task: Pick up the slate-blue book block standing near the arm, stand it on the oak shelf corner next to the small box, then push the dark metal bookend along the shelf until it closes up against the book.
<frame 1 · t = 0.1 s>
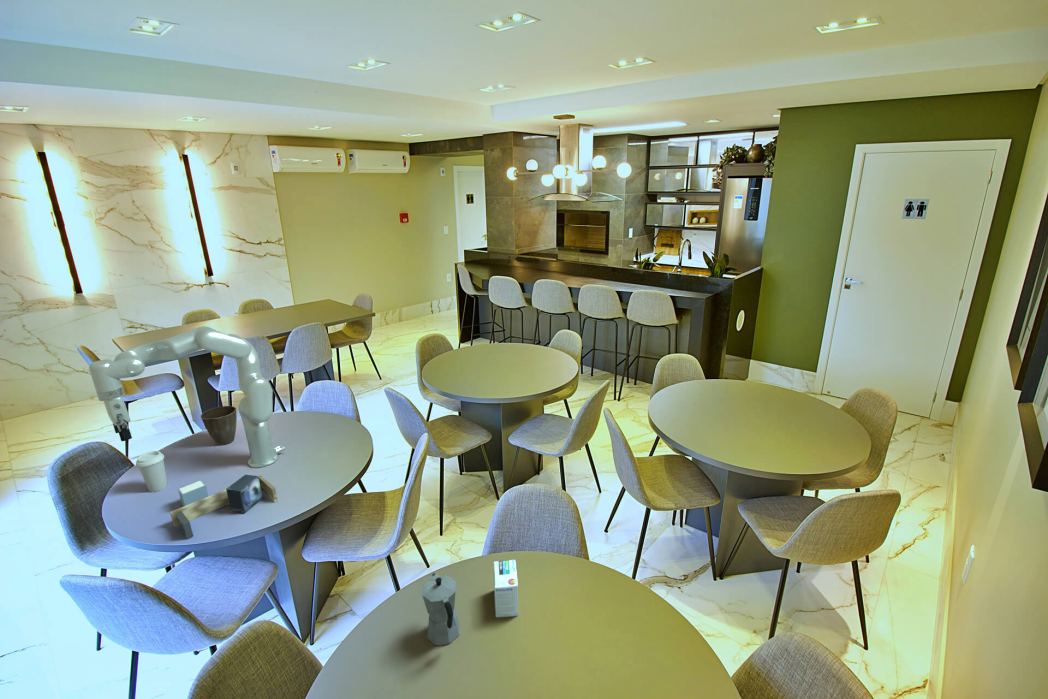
hand: (123, 435, 187), 31 cm above the table, fingers open, 9 cm apart
small box: (247, 505, 196), on the table
plant pot: (225, 442, 247), on the table
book: (196, 503, 198), on the table
coffee cup: (158, 487, 209), on the table
light bulb box: (506, 603, 147), on the table
coffeepot: (445, 635, 137), on the table
bookend: (184, 524, 180), point 3 cm above the table, slide at 0.0 cm
shelf: (224, 514, 191), on the table
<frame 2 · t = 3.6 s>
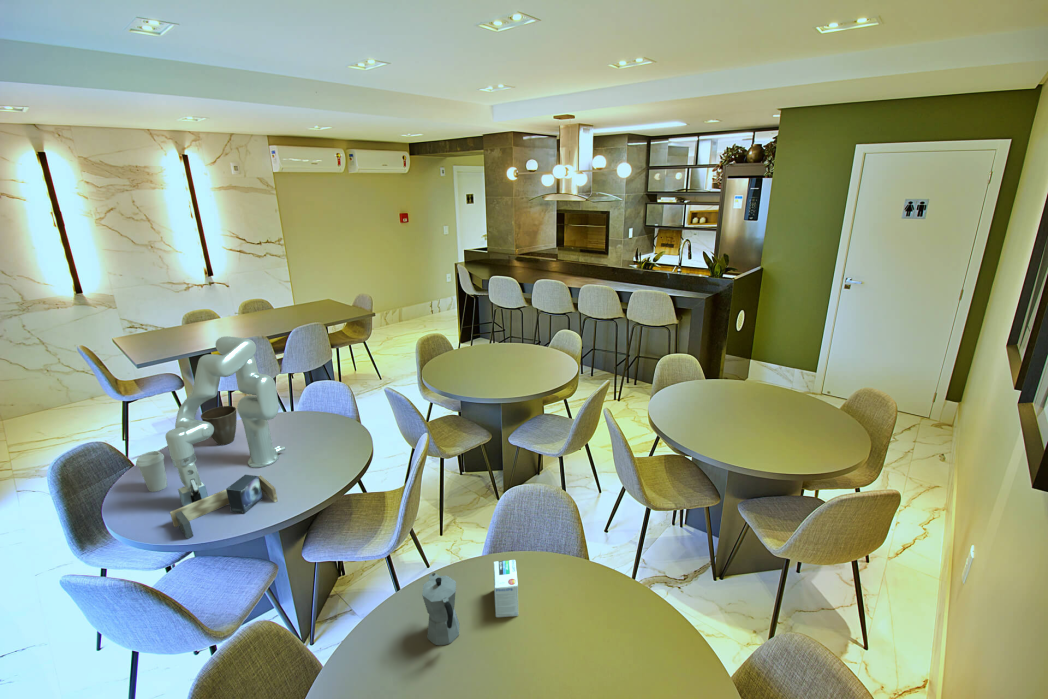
hand: (194, 499, 197), 2 cm above the table, fingers closed on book, 5 cm apart
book: (195, 503, 198), on the table, touching gripper
everything else where it was.
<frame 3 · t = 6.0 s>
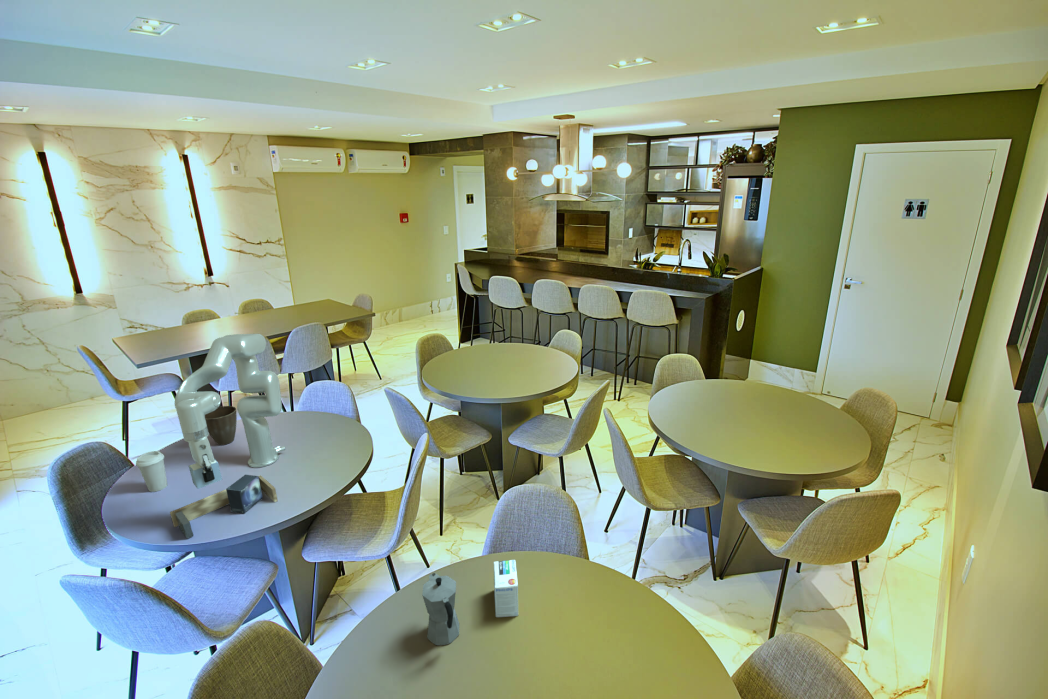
hand: (206, 477, 183), 18 cm above the table, fingers closed on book, 5 cm apart
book: (207, 481, 184), point 16 cm above the table, touching gripper
everything else where it was.
when the fingers open (3 cm above the table, at t = 8.3 s): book drops 1 cm, on the table.
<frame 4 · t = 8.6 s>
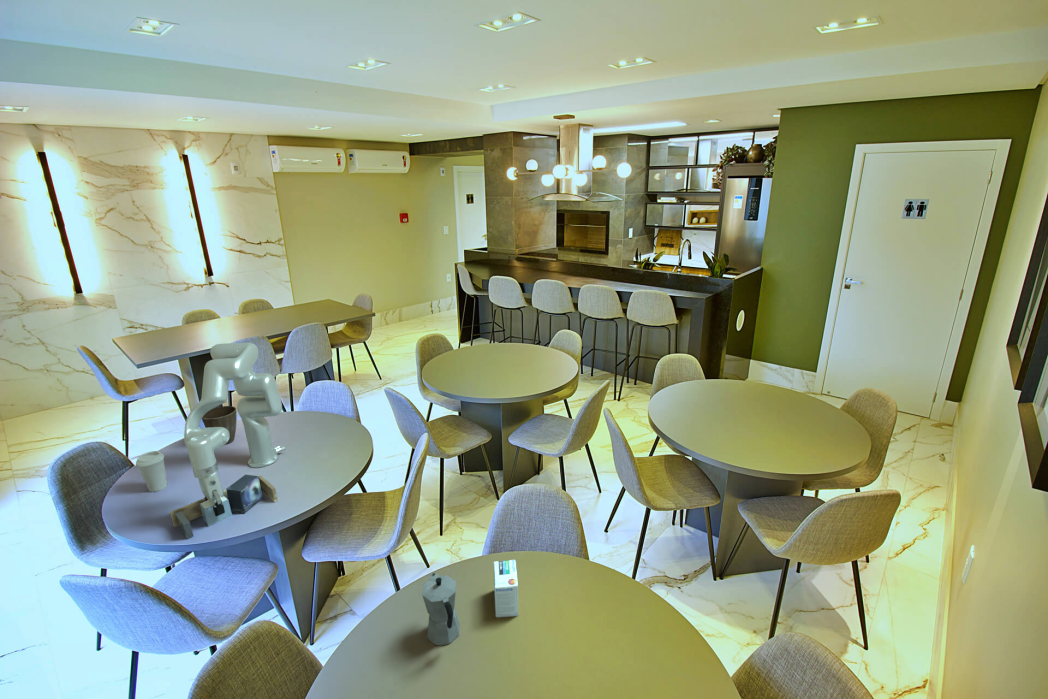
hand: (215, 509, 187), 4 cm above the table, fingers open, 9 cm apart
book: (218, 518, 189), on the table
everything else where it was.
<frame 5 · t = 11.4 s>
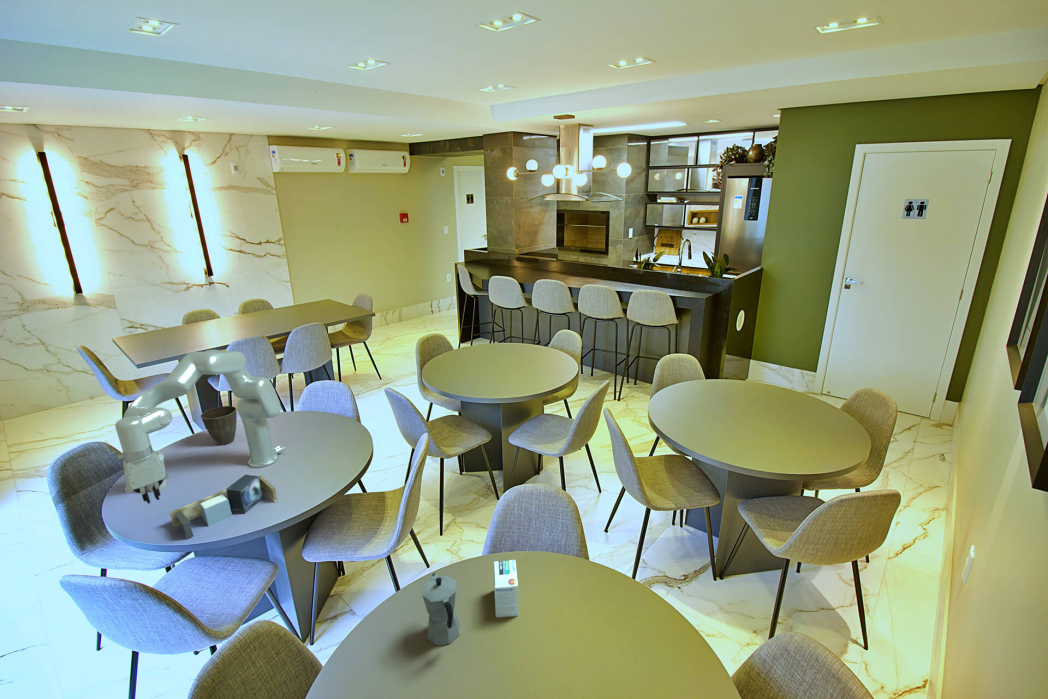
hand: (152, 499, 171), 17 cm above the table, fingers closed
nothing on the table moved.
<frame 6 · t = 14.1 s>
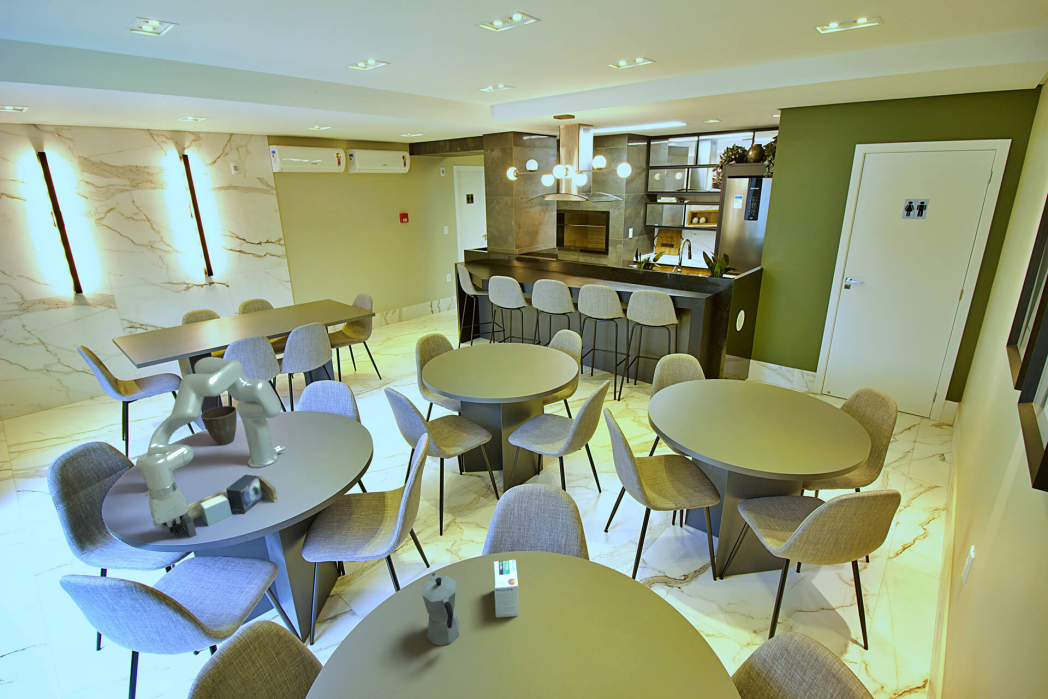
hand: (176, 533, 179), 1 cm above the table, fingers closed
bookend: (187, 523, 181), point 3 cm above the table, slide at 1.0 cm, touching gripper
everything else where it was.
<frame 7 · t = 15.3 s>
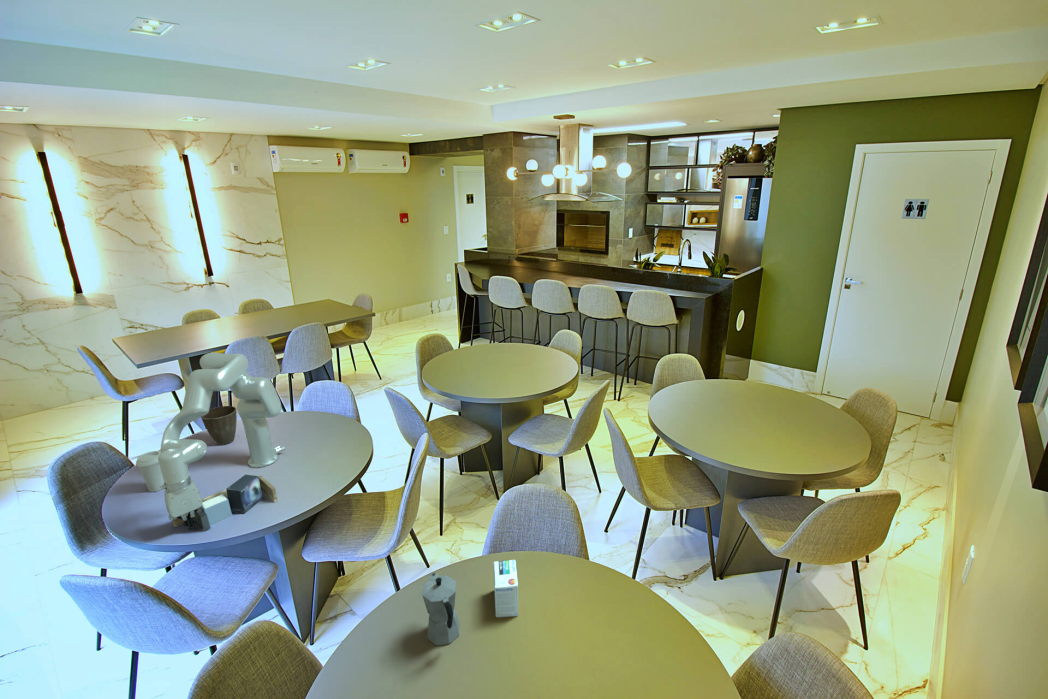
hand: (190, 526, 182), 1 cm above the table, fingers closed
bookend: (201, 517, 184), point 3 cm above the table, slide at 5.5 cm, touching gripper
everything else where it was.
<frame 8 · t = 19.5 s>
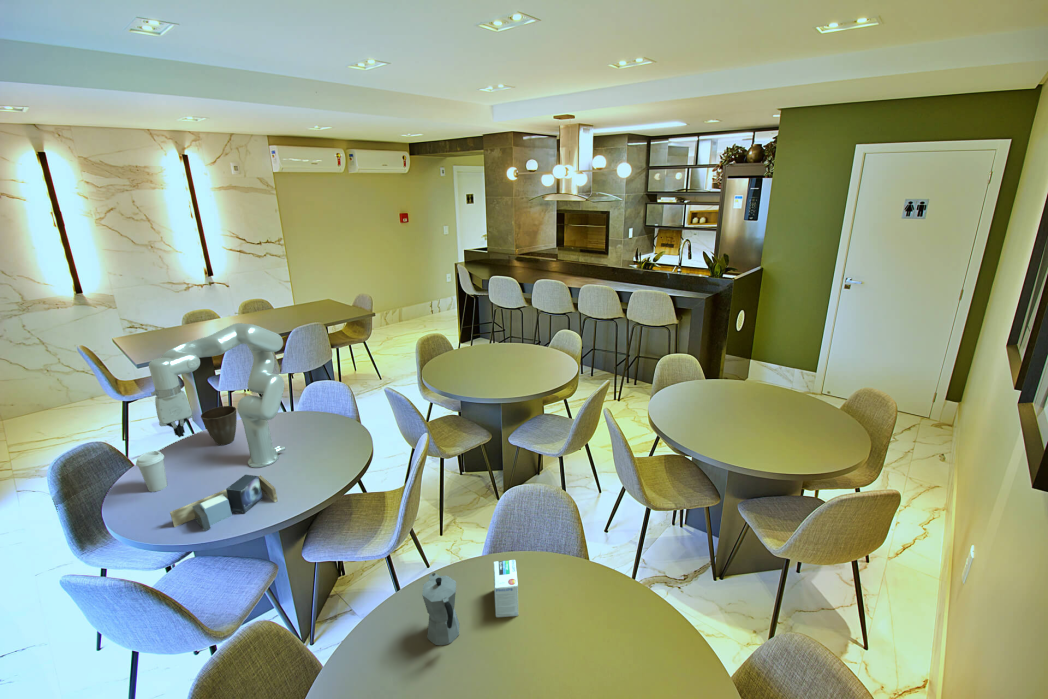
hand: (180, 435, 190), 29 cm above the table, fingers closed
bookend: (201, 517, 184), point 3 cm above the table, slide at 5.5 cm
everything else where it was.
at the end: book inside the target area (0.3 cm from its centre), on the table; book tilted 0°; bookend slide at 5.5 cm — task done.
